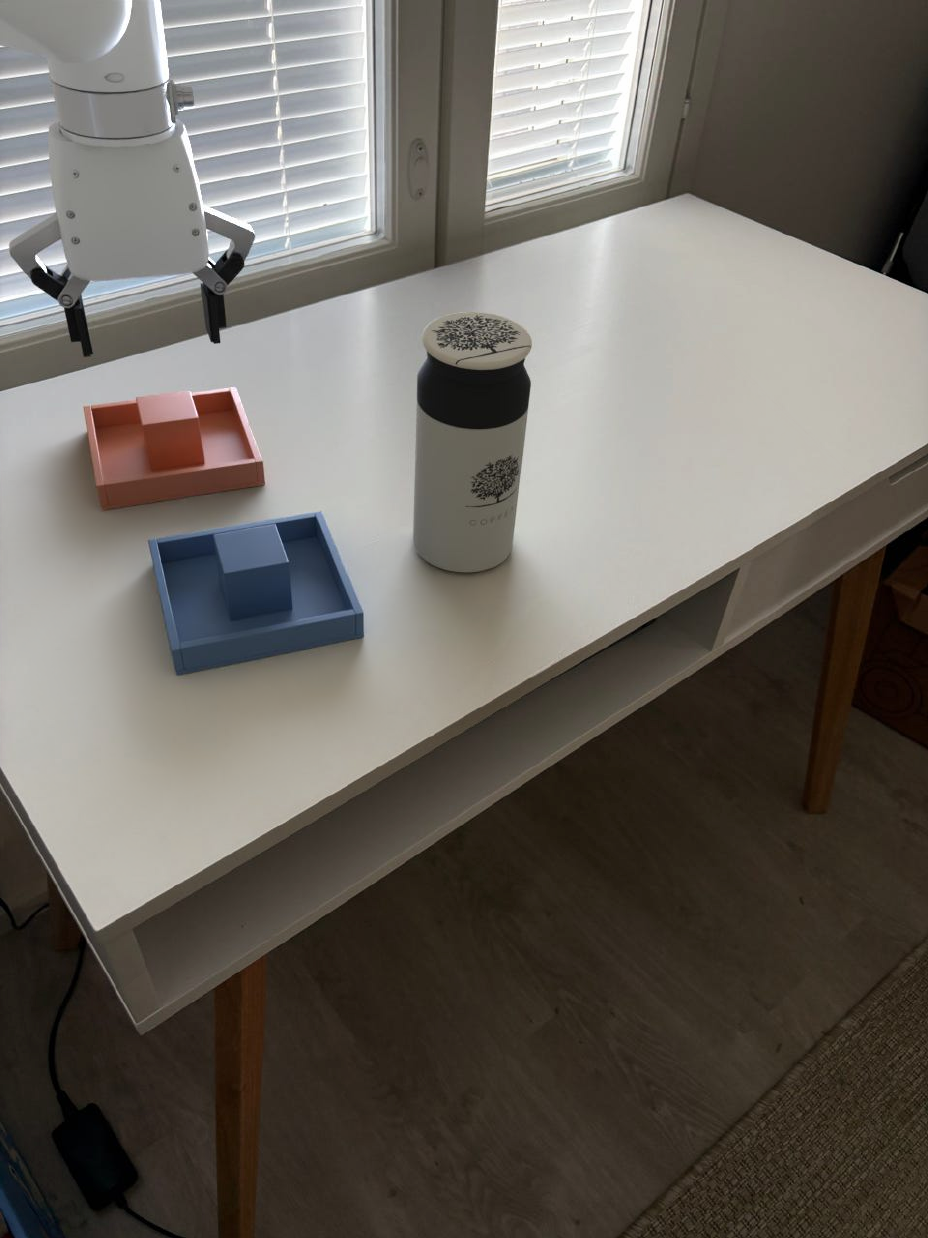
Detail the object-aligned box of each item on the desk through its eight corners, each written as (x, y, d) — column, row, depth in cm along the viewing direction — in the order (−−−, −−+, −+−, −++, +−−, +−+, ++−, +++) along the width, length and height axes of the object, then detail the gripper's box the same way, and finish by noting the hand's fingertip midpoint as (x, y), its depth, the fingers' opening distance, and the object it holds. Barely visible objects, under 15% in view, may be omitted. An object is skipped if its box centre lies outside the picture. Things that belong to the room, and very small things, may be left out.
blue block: (230, 621, 72) (224, 573, 69) (219, 581, 75) (212, 534, 72) (292, 609, 73) (289, 562, 70) (279, 570, 76) (275, 523, 73)
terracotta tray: (101, 510, 81) (96, 486, 80) (88, 429, 89) (83, 406, 88) (265, 484, 85) (263, 461, 83) (238, 409, 93) (235, 386, 91)
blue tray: (176, 676, 69) (171, 650, 67) (152, 564, 77) (147, 539, 75) (364, 637, 72) (363, 612, 71) (322, 534, 80) (321, 510, 79)
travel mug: (400, 521, 82) (403, 315, 70) (491, 506, 84) (510, 303, 72) (430, 583, 77) (439, 372, 65) (527, 565, 79) (553, 357, 67)
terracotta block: (150, 471, 85) (142, 425, 82) (144, 442, 88) (135, 396, 85) (205, 463, 86) (198, 417, 83) (196, 434, 89) (190, 389, 86)
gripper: (234, 87, 73) (252, 310, 84) (-25, 94, 68) (31, 331, 79) (254, 119, 68) (270, 353, 79) (-24, 129, 63) (36, 377, 74)
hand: (151, 341), depth 79 cm, fingers open, 9 cm apart
